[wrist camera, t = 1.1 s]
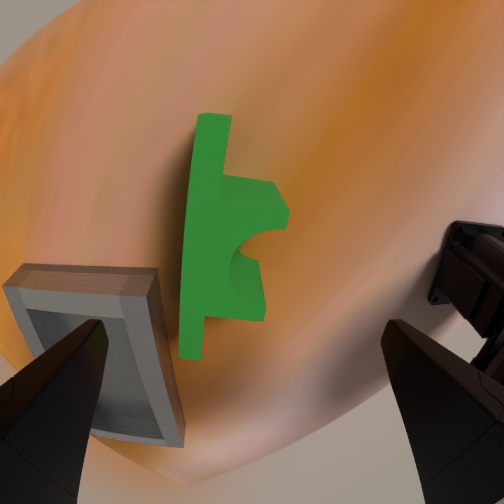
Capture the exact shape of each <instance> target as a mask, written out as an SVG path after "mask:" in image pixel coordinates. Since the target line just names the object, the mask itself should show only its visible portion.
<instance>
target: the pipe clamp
mask: <svg viewBox="0 0 504 504" xmlns="http://www.w3.org/2000/svg"><path fill="white" fill-rule="evenodd" d="M230 123H231V116H230V115H223V114H215V113H203V114H198V118H197V124H196V131H195V138H194V146H193V153H192V161H191V170H190V178H189V187H188V197H187V207H186V218H185V229H184V242H183V256H182V271H181V289H180V313H179V355H178V358H183V359H192V360H201V349H202V338H203V328H204V318H205V316H210V317H219V318H229V319H239V320H250V321H262V322H263V320H264V316H265V312H266V304H265V298H264V292H263V286H262V280H261V274H260V269H259V263H258V260H254V259H250V258H248V257H246V256H244V255H242V254H241V253H240V252H239V251H238V250H237V248H238V247H239V246H240V245H241V244H242V243H243V242H244V241H246V240H247V239H248V238H250V237H252V236H253V235H255V234H258V233H260V232H263V231H268V230H274V229H282V230H285V229H286V225H287V221H288V216H289V212H290V211H289V209H288V207H287V206H286V204H285V202H284V200H283V198H282V196H281V194H280V193H279V191H278V189H277V187H276V185H275V184H274V182H269V181H262V180H256V179H249V178H242V177H235V176H228V175H222V173H223V166H224V160H225V153H226V147H227V141H228V135H229V129H230Z"/></svg>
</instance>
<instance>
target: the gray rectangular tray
mask: <svg viewBox="0 0 504 504" xmlns="http://www.w3.org/2000/svg"><path fill="white" fill-rule="evenodd" d="M2 287H3V290H4V292H5V295H6V297H7V300H8V302H9V305H10V307H11V310H12V312H13V314H14V317H15V319H16V321H17V323H18V325H19V328H20V330H21V332H22V334H23V336H24V338H25V340H26V342H27V344H28V346H29V348H30V350H31V352H32V354H33V356H34V357H35V359H36V358H37V357H38V356H40V355H41V354H42V353H44V352H45V351H46V350H48V349H49V348H50V347H52V346H53V345H54V344H56V343H57V342H58V341H60V340H61V339H62V338H64V337H65V336H66V335H68V334H69V333H70V332H72V331H73V330H74V329H76V328H77V327H79V326H80V325H81V324H83V323H84V322H85V321H87V320H88V319H100V320H102V321H103V323H104V327H105V330H106V333H107V336H108V339H109V347H108V352H107V358H106V363H105V369H104V375H103V381H102V386H101V390H100V394H99V398H98V402H97V406H96V409H95V413H94V417H93V421H92V426H91V430H90V435H95V436H99V437H104V438H110V439H115V440H121V441H127V442H133V443H140V444H148V445H156V446H166V447H178V448H184V438H185V425H186V423H185V419H184V415H183V411H182V406H181V402H180V398H179V393H178V389H177V384H176V379H175V375H174V370H173V365H172V360H171V354H170V349H169V344H168V338H167V332H166V326H165V320H164V314H163V307H162V300H161V293H160V286H159V278H158V270H157V268H135V267H101V266H72V265H47V264H25V263H23V264H22V265H21V266H20V267H19V268H18V269H17V271H16V272H15V273H14V274H13V275H12V276H11V277H10V278H9V279H8V280H7V281H6V282H5V283H4V284H3V285H2Z"/></svg>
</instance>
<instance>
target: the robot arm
mask: <svg viewBox="0 0 504 504" xmlns="http://www.w3.org/2000/svg"><path fill="white" fill-rule="evenodd" d="M458 227H459V228H458ZM457 229H458V230H457ZM428 302H429V303H430V304H431V305H440V304H449V303H451V304H452V305H453V306H454V307H455V309H456V310H457V311H458V312H459V313H460V314H461V316H462V317H463V318H464V319H465V320H466V319H467V320H468V322H469V323H470V324H471V325H472V326H473V328H474V329H475V330H476V331H477V333H478V334H479V335H480V336H481V338H486V340H487V341H486V342H485V344H484V346H483V347H482V349H481V350H480V351H479V353H478V354H477V356H476V357H475V358H473V360H472V361H471V362H470V364H469V363H467V362H466V361H465V360H463V359H462V358H460V357H458V356H457V355H455V354H454V353H453V352H451V351H450V350H448V349H447V348H445V347H443V346H442V345H440V344H439V343H437V342H436V341H434V340H433V339H431V338H430V337H428V336H427V335H425V334H424V333H422V332H420V331H419V330H417V329H416V328H414V327H413V326H411V325H410V324H408V323H406V322H405V321H403V320H402V319H391V320H389V321H388V322H387V325H386V327H385V330H384V332H383V335H382V337H381V347H382V351H383V355H384V359H385V363H386V367H387V371H388V375H389V379H390V383H391V386H392V389H393V392H394V395H395V398H396V401H397V404H398V407H399V410H400V413H401V416H402V419H403V422H404V425H405V428H406V432H407V435H408V439H409V442H410V445H411V449H412V452H413V456H414V459H415V463H416V467H417V470H418V474H419V478H420V482H421V485H422V486H421V487H422V491H423V495H424V499H425V504H504V227H503V226H500V225H492V224H484V223H476V222H468V221H459V220H458V221H455V222H454V223H453V225H452V227H451V230H450V234H449V237H448V241H447V244H446V247H445V250H444V254H443V257H442V260H441V263H440V266H439V269H438V271H437V274H436V277H435V280H434V283H433V285H432V288H431V291H430V293H429V296H428ZM108 347H109V339H108V336H107V333H106V330H105V327H104V323H103V321H102V320H100V319H88V320H87V321H85V322H84V323H83V324H81V325H80V326H79V327H77V328H76V329H74V330H73V331H72V332H70V333H69V334H68V335H66V336H65V337H64V338H62V339H61V340H60V341H58V342H57V343H56V344H54V345H53V346H52V347H50V348H49V349H48V350H46V351H45V352H44V353H42V354H41V355H40V356H38V357H37V358H36V359H35V360H33V361H32V362H31V363H29V364H28V365H27V366H25V367H24V368H23V369H22V370H20V371H19V372H18V373H17V374H15V375H14V378H13V377H11V378H10V379H9V380H8V381H7V382H5V383H4V384H2V385H1V386H0V504H77V497H78V491H79V485H80V479H81V473H82V468H83V463H84V457H85V453H86V448H87V442H88V439H89V434H90V430H91V426H92V421H93V417H94V413H95V409H96V406H97V402H98V398H99V394H100V390H101V386H102V381H103V375H104V369H105V363H106V358H107V352H108Z"/></svg>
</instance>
